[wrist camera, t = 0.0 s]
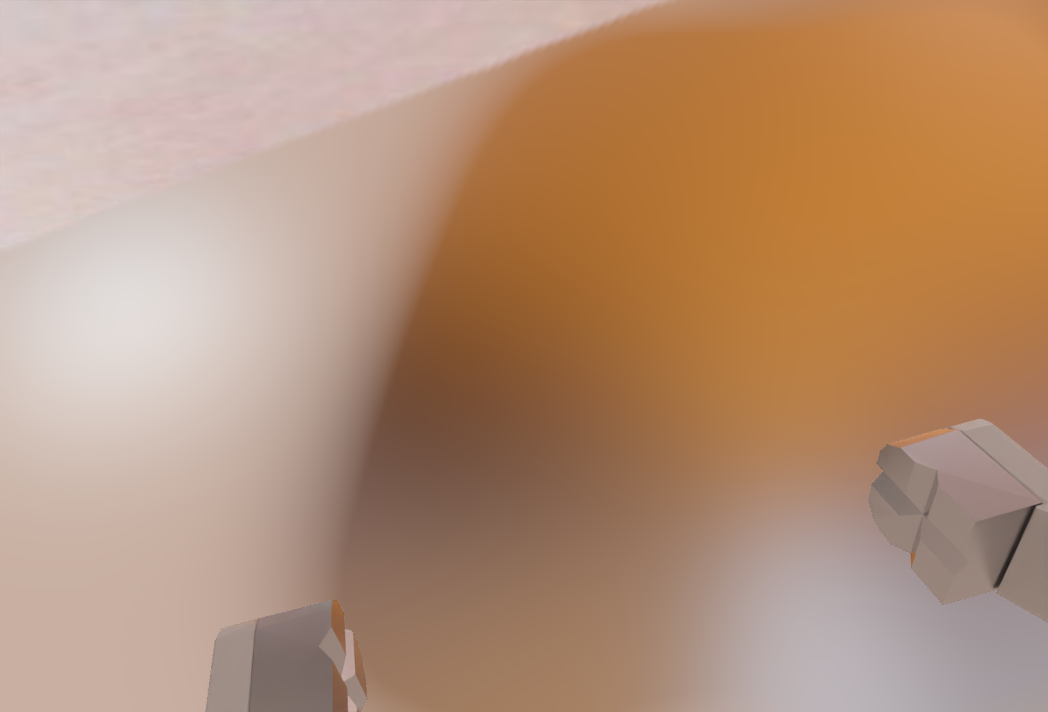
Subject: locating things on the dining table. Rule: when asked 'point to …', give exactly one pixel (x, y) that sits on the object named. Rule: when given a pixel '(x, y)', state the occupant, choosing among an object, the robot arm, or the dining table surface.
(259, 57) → the dining table surface
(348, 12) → the dining table surface
